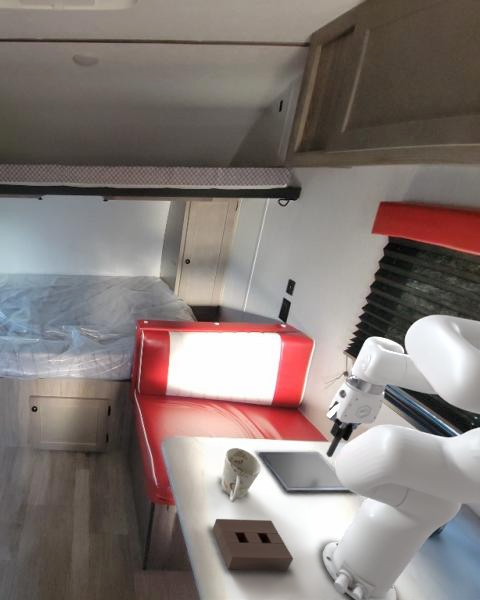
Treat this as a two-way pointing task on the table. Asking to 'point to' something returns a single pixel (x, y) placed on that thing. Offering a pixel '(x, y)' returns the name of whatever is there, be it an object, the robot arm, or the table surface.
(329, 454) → the stylus
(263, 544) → the pen stand
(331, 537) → the table surface
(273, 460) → the tablet
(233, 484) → the mug
